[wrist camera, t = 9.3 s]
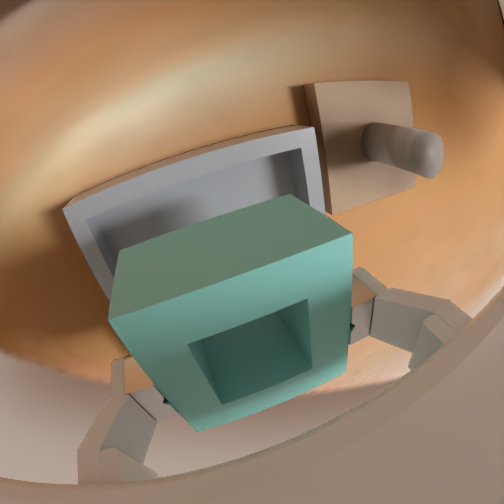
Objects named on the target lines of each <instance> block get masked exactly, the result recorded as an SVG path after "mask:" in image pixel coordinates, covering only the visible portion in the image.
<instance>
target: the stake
mask: <svg viewBox="0 0 504 504" xmlns="http://www.w3.org/2000/svg"><path fill="white" fill-rule="evenodd" d="M304 89H305V94H306V99H307V105H308V110H309V116H310V121H311V127H314V129H315V136H316V142H317V149H318V155H319V162H320V170H321V178H322V186H323V194H324V203H325V211H326V212H328V213H330V214H331V215H334V214H337V213H340V212H343V211H346V210H349V209H352V208H355V207H357V206H360V205H363V204H366V203H369V202H372V201H375V200H378V199H381V198H383V197H386V196H389V195H392V194H395V193H398V192H401V191H404V190H407V189H410V188H413V187H415V174H417V175H420V176H423V177H426V178H434V177H435V176H436V175H437V174H438V173H439V172H440V170H441V168H442V165H443V161H444V145H443V142H442V139H441V137H440V136H439V135H438V134H437V133H435V132H430V131H426V130H421V129H415V128H414V124H413V112H412V103H411V94H410V87H409V81H382V80H366V81H337V82H323V83H312V84H306V85H304Z"/></svg>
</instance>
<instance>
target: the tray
mask: <svg viewBox="0 0 504 504" xmlns="http://www.w3.org/2000/svg"><path fill="white" fill-rule="evenodd" d="M288 194H291V195H293V196H295V197H296V198H298V199H300V200H301V201H303V202H304V203H306V204H308V205H309V206H311V207H313V208H314V209H316V210H317V211H319V212H321V213H322V214H324V215H325V216H326V213H325V203H324V194H323V186H322V178H321V170H320V162H319V155H318V149H317V142H316V136H315V129H314V127H310V126H300V125H291V126H286V127H281V128H276V129H271V130H267V131H263V132H258V133H254V134H250V135H246V136H242V137H238V138H234V139H230V140H227V141H223V142H219V143H216V144H212V145H209V146H205V147H202V148H199V149H195V150H192V151H189V152H186V153H183V154H180V155H177V156H174V157H171V158H168V159H165V160H162V161H159V162H156V163H154V164H151V165H148V166H145V167H143V168H140V169H137V170H135V171H132V172H130V173H127V174H125V175H122V176H120V177H117V178H115V179H112V180H110V181H108V182H105V183H103V184H101V185H98V186H96V187H94V188H91V189H89V190H87V191H85V192H83V193H81V194H78V195H76V196H74V197H73V198H72V199H71V201H70V202H69V203H68V204H67V205H66V206H65V207H64V208H63V209H62V210H63V212H64V215H65V217H66V219H67V222H68V224H69V226H70V228H71V230H72V233H73V235H74V237H75V239H76V241H77V243H78V245H79V247H80V249H81V251H82V253H83V255H84V257H85V259H86V261H87V263H88V265H89V267H90V269H91V271H92V272H93V274H94V276H95V278H96V280H97V281H98V283H99V285H100V287H101V289H102V290H103V292H104V294H105V295H106V297H107V299H108V300H109V302H110V300H111V294H112V287H113V281H114V276H115V270H116V265H117V260H118V255H119V251H120V250H122V249H125V248H128V247H130V246H133V245H136V244H138V243H141V242H144V241H147V240H149V239H152V238H155V237H158V236H161V235H164V234H166V233H169V232H172V231H175V230H178V229H181V228H184V227H187V226H189V225H192V224H195V223H198V222H201V221H204V220H207V219H210V218H213V217H217V216H220V215H223V214H226V213H229V212H232V211H235V210H238V209H241V208H245V207H248V206H251V205H254V204H258V203H261V202H264V201H267V200H271V199H274V198H277V197H281V196H284V195H288Z"/></svg>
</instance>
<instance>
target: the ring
mask: <svg viewBox="0 0 504 504" xmlns="http://www.w3.org/2000/svg"><path fill="white" fill-rule="evenodd" d="M352 267H353V233H352V232H350V231H349V230H347V229H346V228H344V227H343V226H341V225H340V224H338V223H336V222H335V221H333V220H332V219H330V218H329V217H327V216H325V215H324V214H322V213H321V212H319V211H317V210H316V209H314V208H313V207H311V206H309V205H308V204H306V203H304V202H303V201H301V200H300V199H298V198H296V197H295V196H293V195H291V194H288V195H284V196H281V197H277V198H274V199H271V200H267V201H264V202H261V203H258V204H254V205H251V206H248V207H245V208H241V209H238V210H235V211H232V212H229V213H226V214H223V215H220V216H217V217H213V218H210V219H207V220H204V221H201V222H198V223H195V224H192V225H189V226H187V227H184V228H181V229H178V230H175V231H172V232H169V233H166V234H164V235H161V236H158V237H155V238H152V239H149V240H147V241H144V242H141V243H138V244H136V245H133V246H130V247H128V248H125V249H122V250H120V251H119V255H118V260H117V265H116V270H115V276H114V281H113V287H112V294H111V300H110V307H109V315H108V322H109V323H110V325H111V326H112V328H113V329H114V331H115V332H116V334H117V335H118V337H119V338H120V340H121V341H122V342H123V344H124V345H125V347H126V348H127V349H128V351H129V352H130V354H131V355H132V356H133V358H134V359H135V360H136V362H137V363H138V364H139V366H140V367H141V368H142V370H143V371H144V372H145V373H146V375H147V376H148V377H149V379H150V380H151V381H152V382H153V384H154V385H155V386H156V387H157V388H158V389H159V391H160V392H161V393H162V394H163V395H164V397H165V398H166V399H167V400H168V401H169V402H170V403H171V404H172V405H173V406H174V408H175V409H176V410H177V411H178V413H180V415H181V416H182V417H183V418H184V419H185V420H186V421H187V422H188V423H189V424H190V425H191V426H192V428H193V429H194V430H195V431H197V432H199V431H203V430H206V429H209V428H213V427H216V426H219V425H222V424H226V423H229V422H231V421H234V420H237V419H240V418H243V417H246V416H249V415H251V414H254V413H257V412H259V411H262V410H264V409H267V408H269V407H272V406H274V405H277V404H279V403H282V402H284V401H286V400H288V399H291V398H293V397H296V396H298V395H300V394H302V393H304V392H307V391H309V390H311V389H313V388H315V387H317V386H319V385H321V384H323V383H325V382H327V381H329V380H331V379H333V378H335V377H337V376H339V375H341V374H343V373H344V372H346V364H347V355H348V344H349V330H350V310H351V299H352Z"/></svg>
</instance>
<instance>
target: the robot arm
mask: <svg viewBox="0 0 504 504" xmlns="http://www.w3.org/2000/svg"><path fill="white" fill-rule="evenodd" d="M499 4H500V7H501V11H502V15H503V19H504V0H499ZM369 335H370V336H371V337H374V338H376V339H379V340H381V341H384V342H386V343H389V344H391V345H394V346H396V347H399V348H401V349H404V350H406V351H409V352H412V356H411V359H410V361H409V365H408V367H409V368H410V369H411V371H410V372H408V373H407V374H406V375H404V376H403V377H401V378H400V379H398V380H397V381H396V382H394V383H393V384H391V385H390V386H388V387H387V388H385V389H383V390H382V391H380V392H379V393H377V394H376V395H374V396H372V397H371V398H369V399H368V400H366V401H364V402H363V403H361V404H359V405H357V406H356V407H354V408H352V409H350V410H349V411H347V412H345V413H343V414H341V415H340V416H338V417H336V418H334V419H332V420H330V421H328V422H326V423H324V424H322V425H320V426H318V427H316V428H314V429H312V430H310V431H307V432H305V433H303V434H301V435H299V436H296V437H294V438H292V439H289V440H287V441H285V442H282V443H280V444H277V445H275V446H272V447H270V448H267V449H264V450H262V451H259V452H256V453H253V454H250V455H248V456H244V457H241V458H239V459H235V460H232V461H229V462H225V463H222V464H219V465H215V466H211V467H208V468H204V469H200V470H195V471H191V472H187V473H182V474H177V475H172V476H166V477H161V478H159V476H158V473H157V472H155V471H154V470H152V469H150V468H148V467H146V466H145V465H143V462H144V459H145V456H146V453H147V450H148V447H149V444H150V441H151V438H152V435H153V433H154V430H155V427H156V424H157V421H158V420H162V419H165V418H168V417H172V416H175V415H179V413H178V411H177V410H176V409H175V408H174V406H173V405H172V404H171V403H170V402H169V401H168V400H167V399H166V398H165V397H164V395H163V394H162V393H161V392H160V391H159V389H158V388H157V387H156V386H155V385H154V384H153V382H152V381H151V380H150V379H149V377H148V376H147V375H146V373H145V372H144V371H143V370H142V368H141V367H140V366H139V364H138V363H137V362H136V360H135V359H134V358H133V356H132V355H128V356H126V357H122V358H118V359H114V360H113V361H112V363H111V392H110V396H111V398H110V399H107V400H106V402H105V403H104V405H103V407H102V409H101V410H100V412H99V413H98V415H97V417H96V419H95V421H94V422H93V424H92V426H91V427H90V429H89V431H88V433H87V434H86V436H85V438H84V439H83V441H82V443H81V445H80V447H79V448H78V450H77V464H78V485H77V484H76V485H75V484H49V483H38V482H28V481H21V480H14V479H8V478H3V477H0V504H504V286H503V287H502V288H501V290H500V291H499V292H498V293H497V294H496V295H495V296H494V297H493V298H492V299H491V300H490V302H489V303H488V304H487V305H486V306H485V307H484V308H483V309H482V310H481V311H480V312H479V313H478V314H477V315H476V316H475V317H474V318H473V319H472V318H471V317H470V316H468V315H467V314H466V313H465V312H463V311H462V310H461V309H460V308H459V307H457V306H456V305H455V304H454V303H452V302H451V301H450V300H447V299H443V298H438V297H433V296H428V295H424V294H419V293H414V292H410V291H405V290H400V289H396V288H391V289H388V288H387V287H386V286H384V285H383V284H382V283H381V282H380V281H378V280H377V279H376V278H375V277H373V276H372V275H371V274H370V273H368V272H367V271H366V270H365V269H363V268H361V267H358V268H356V269H354V270H352V299H351V310H350V330H349V344H350V345H351V344H353V343H355V342H357V341H359V340H361V339H363V338H365V337H367V336H369Z"/></svg>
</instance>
